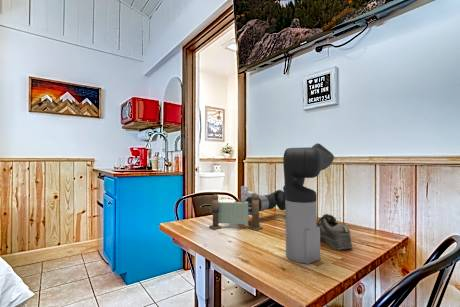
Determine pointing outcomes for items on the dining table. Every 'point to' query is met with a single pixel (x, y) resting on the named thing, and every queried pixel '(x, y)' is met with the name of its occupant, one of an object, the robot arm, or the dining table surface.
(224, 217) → the gate
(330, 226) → the hiking shoe
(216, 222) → the post
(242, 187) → the ink box
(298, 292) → the dining table surface
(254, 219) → the hinge post
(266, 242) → the dining table surface
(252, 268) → the dining table surface
